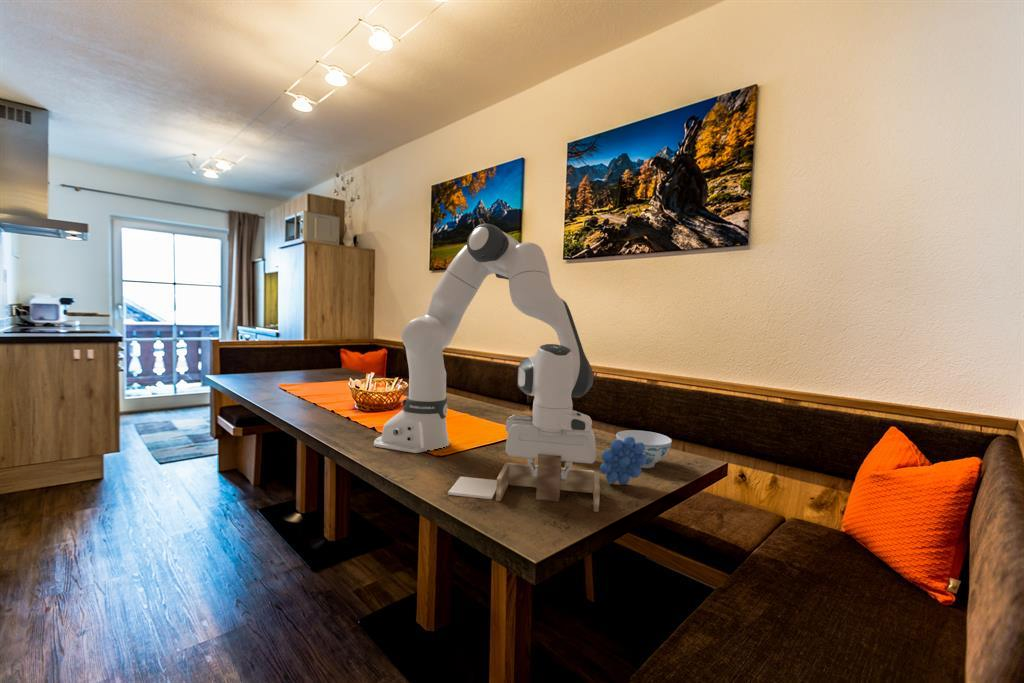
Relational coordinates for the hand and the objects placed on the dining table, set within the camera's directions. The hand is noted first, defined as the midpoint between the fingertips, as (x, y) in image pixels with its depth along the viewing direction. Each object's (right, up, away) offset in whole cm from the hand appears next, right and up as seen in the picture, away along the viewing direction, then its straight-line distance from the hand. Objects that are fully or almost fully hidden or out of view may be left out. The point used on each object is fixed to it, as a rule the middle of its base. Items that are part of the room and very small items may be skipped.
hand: (549, 478), depth 102 cm
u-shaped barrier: (0, -4, 0) cm, 4 cm away
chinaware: (+28, -4, +26) cm, 39 cm away
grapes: (+19, -5, +10) cm, 22 cm away
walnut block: (0, -4, 0) cm, 4 cm away
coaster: (-17, -3, +3) cm, 18 cm away
